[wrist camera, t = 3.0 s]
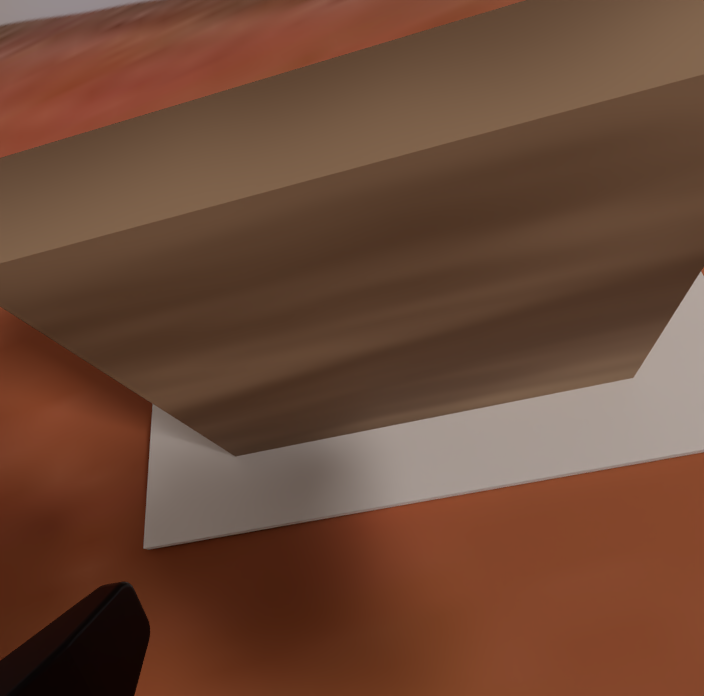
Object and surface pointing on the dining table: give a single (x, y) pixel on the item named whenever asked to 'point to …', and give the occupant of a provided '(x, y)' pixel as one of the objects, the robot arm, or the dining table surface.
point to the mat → (433, 449)
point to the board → (380, 226)
